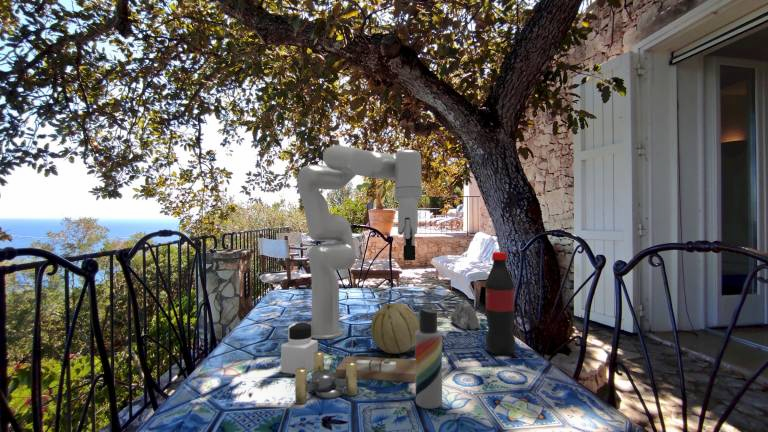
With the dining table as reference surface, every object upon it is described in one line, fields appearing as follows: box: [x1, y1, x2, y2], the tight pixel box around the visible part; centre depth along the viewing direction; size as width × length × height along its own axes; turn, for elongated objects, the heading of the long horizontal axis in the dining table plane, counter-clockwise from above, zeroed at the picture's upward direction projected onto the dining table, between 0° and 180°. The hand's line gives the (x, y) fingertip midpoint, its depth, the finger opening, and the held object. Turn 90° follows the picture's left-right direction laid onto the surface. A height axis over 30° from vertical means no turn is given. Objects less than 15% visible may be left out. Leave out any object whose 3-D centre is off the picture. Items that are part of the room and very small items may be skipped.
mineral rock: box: [450, 299, 480, 330], centre depth 148 cm, size 13×11×10 cm
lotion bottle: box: [414, 308, 443, 410], centre depth 84 cm, size 6×6×20 cm
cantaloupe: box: [370, 302, 420, 355], centre depth 118 cm, size 15×15×15 cm
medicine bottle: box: [280, 322, 319, 375], centre depth 104 cm, size 7×7×12 cm
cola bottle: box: [484, 251, 516, 356], centre depth 117 cm, size 8×8×30 cm
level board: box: [335, 355, 415, 383], centre depth 102 cm, size 20×10×5 cm, turn 80°
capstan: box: [294, 350, 358, 405], centre depth 89 cm, size 12×14×7 cm
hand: (409, 259), depth 109 cm, fingers closed
